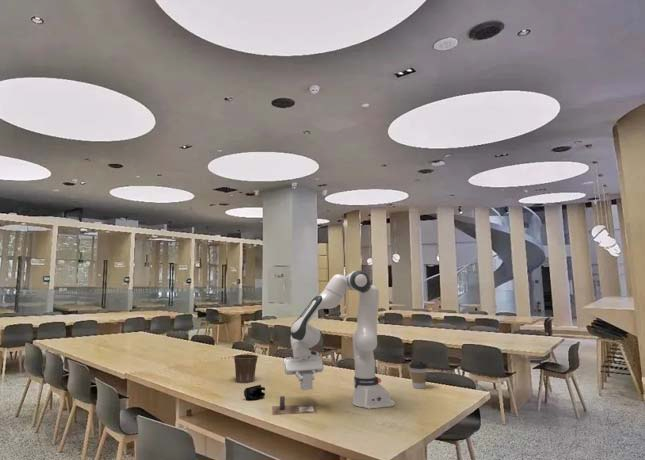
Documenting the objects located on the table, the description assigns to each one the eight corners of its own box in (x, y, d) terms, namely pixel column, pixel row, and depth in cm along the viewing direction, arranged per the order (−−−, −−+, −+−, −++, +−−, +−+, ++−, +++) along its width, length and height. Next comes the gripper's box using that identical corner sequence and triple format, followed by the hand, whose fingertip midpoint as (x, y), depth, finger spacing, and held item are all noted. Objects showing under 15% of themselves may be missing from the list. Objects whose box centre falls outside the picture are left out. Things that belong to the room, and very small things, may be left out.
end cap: (257, 396, 233) (257, 383, 234) (265, 398, 228) (265, 385, 229) (243, 399, 226) (243, 387, 227) (251, 402, 221) (251, 389, 222)
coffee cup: (429, 390, 243) (428, 364, 245) (410, 389, 246) (409, 364, 248) (428, 385, 254) (427, 361, 257) (409, 385, 257) (409, 360, 259)
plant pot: (260, 378, 276) (260, 354, 279) (254, 384, 261) (254, 358, 263) (237, 378, 278) (237, 354, 280) (229, 383, 262) (230, 358, 264)
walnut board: (314, 407, 210) (314, 392, 211) (317, 416, 196) (317, 400, 198) (272, 409, 208) (272, 394, 209) (272, 418, 194) (272, 401, 195)
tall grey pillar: (310, 387, 207) (309, 371, 208) (312, 389, 202) (312, 373, 203) (300, 387, 205) (300, 372, 206) (302, 390, 200) (302, 374, 201)
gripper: (283, 354, 209) (287, 378, 199) (321, 351, 215) (326, 374, 205) (281, 361, 213) (285, 385, 202) (318, 359, 219) (324, 381, 208)
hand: (306, 379), depth 203 cm, fingers closed on tall grey pillar, 5 cm apart
